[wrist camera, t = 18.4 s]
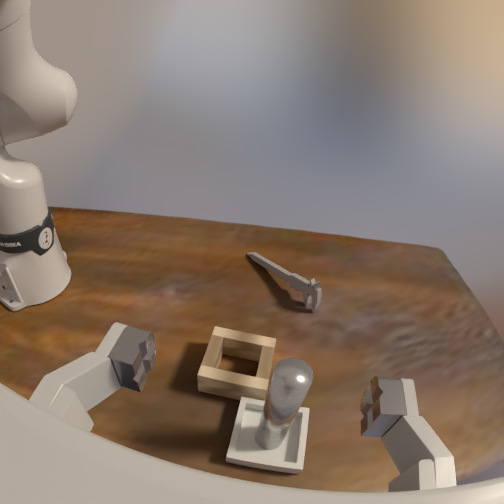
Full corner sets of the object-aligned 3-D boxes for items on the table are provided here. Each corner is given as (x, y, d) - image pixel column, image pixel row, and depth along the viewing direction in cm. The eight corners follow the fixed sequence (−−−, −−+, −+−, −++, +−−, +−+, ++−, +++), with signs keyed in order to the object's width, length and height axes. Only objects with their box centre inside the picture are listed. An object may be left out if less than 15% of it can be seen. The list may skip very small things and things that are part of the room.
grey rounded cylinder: (252, 447, 35) (271, 386, 26) (257, 423, 37) (276, 355, 29) (281, 451, 34) (312, 393, 26) (284, 427, 37) (314, 361, 29)
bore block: (198, 390, 41) (197, 374, 39) (214, 343, 49) (215, 326, 47) (262, 404, 41) (266, 390, 38) (272, 355, 48) (276, 338, 46)
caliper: (317, 312, 57) (325, 285, 54) (312, 314, 57) (321, 287, 53) (250, 254, 70) (253, 228, 67) (246, 255, 70) (249, 230, 66)
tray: (225, 461, 33) (226, 456, 32) (240, 403, 40) (241, 396, 39) (298, 474, 32) (302, 469, 31) (305, 415, 40) (309, 408, 38)
